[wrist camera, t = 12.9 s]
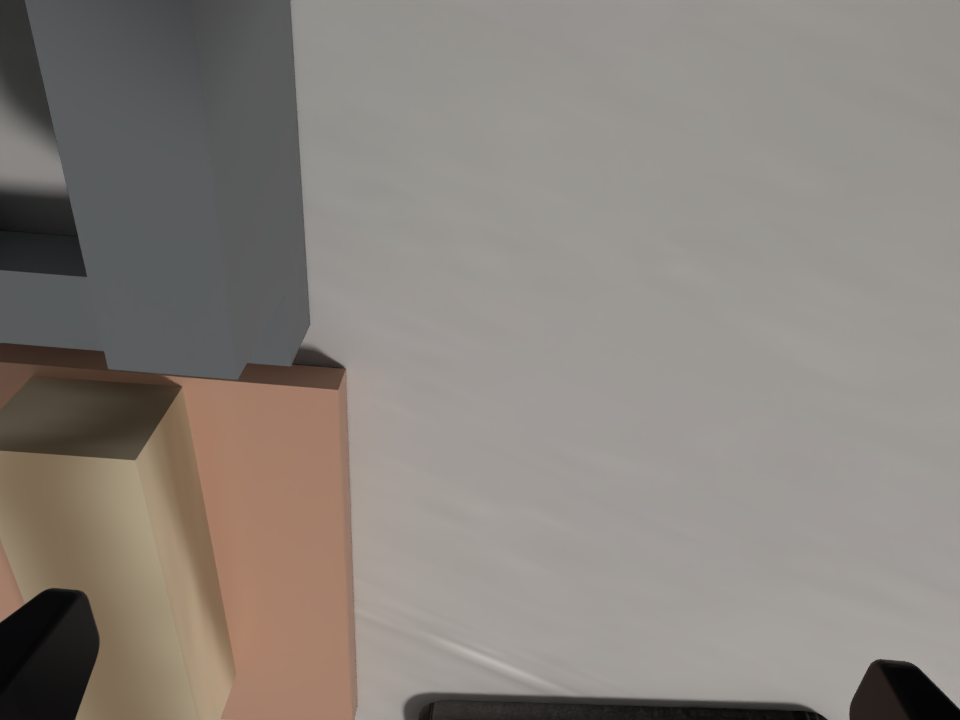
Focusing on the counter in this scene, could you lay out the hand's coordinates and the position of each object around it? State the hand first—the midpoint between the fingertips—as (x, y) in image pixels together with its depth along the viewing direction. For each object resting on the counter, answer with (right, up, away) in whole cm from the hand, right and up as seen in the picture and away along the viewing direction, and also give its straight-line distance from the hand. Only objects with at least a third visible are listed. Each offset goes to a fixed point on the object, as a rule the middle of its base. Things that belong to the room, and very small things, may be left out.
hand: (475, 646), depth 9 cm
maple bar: (-10, -2, +15) cm, 18 cm away
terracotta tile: (-10, -3, +17) cm, 20 cm away
